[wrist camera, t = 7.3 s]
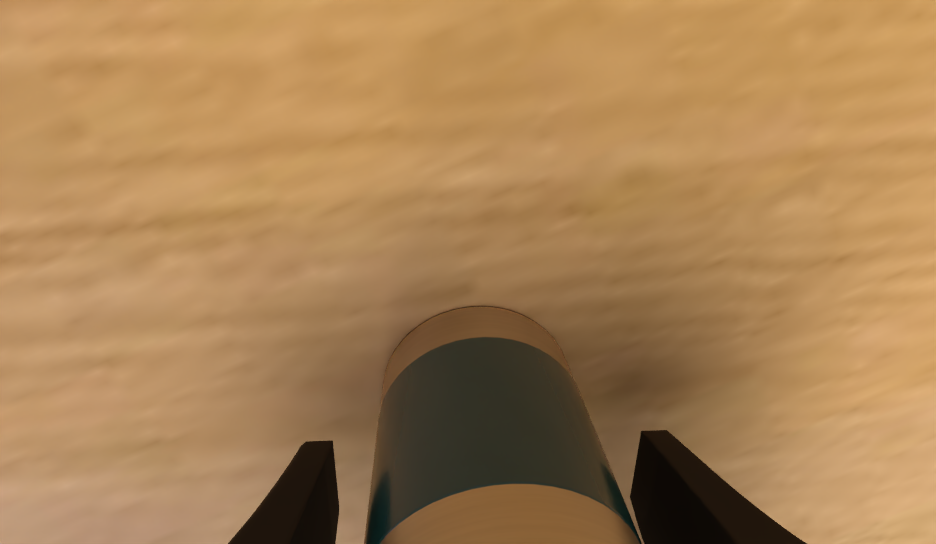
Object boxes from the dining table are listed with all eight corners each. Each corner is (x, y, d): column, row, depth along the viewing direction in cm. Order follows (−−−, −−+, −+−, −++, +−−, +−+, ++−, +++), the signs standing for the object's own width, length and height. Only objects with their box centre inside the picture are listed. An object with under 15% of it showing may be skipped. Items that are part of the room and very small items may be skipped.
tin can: (560, 457, 18) (661, 784, 10) (386, 463, 17) (357, 807, 10) (576, 303, 15) (718, 572, 8) (378, 306, 15) (333, 591, 8)
